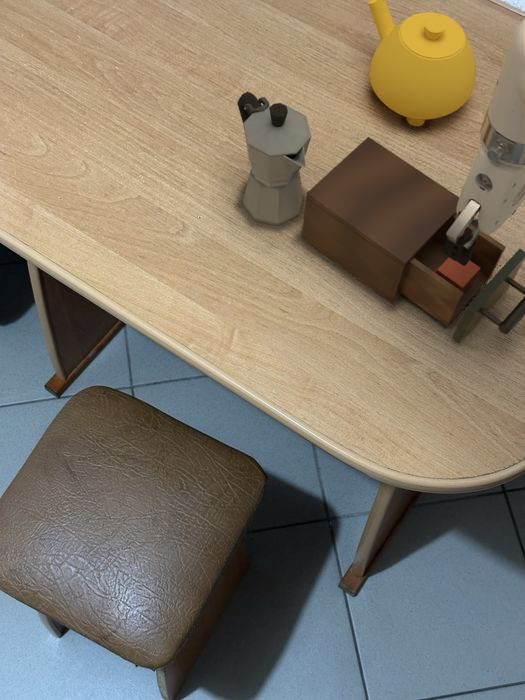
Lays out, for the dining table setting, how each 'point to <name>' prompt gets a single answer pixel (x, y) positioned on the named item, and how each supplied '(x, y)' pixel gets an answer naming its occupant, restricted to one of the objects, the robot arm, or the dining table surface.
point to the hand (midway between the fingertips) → (478, 232)
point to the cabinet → (375, 215)
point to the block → (459, 274)
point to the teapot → (421, 64)
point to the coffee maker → (273, 158)
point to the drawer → (450, 300)
